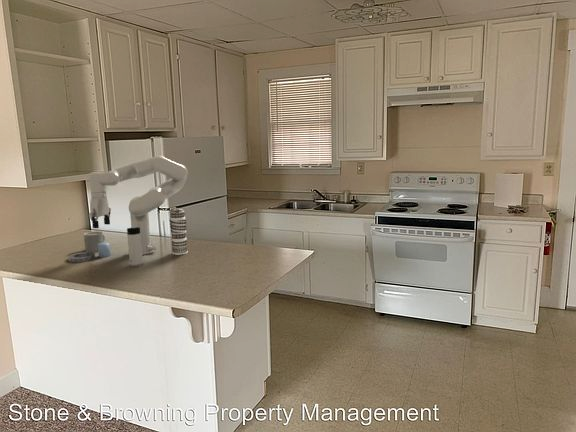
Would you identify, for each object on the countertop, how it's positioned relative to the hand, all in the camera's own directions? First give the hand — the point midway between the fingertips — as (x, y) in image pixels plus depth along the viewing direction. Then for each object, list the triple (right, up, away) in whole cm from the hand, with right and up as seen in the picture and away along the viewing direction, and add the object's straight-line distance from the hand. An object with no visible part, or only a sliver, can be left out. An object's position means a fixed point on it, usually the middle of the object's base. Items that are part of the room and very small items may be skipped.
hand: (101, 226), depth 236 cm
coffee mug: (-10, -14, +17) cm, 24 cm away
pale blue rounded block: (+1, -17, +3) cm, 17 cm away
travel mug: (+24, -20, -15) cm, 35 cm away
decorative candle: (+41, -15, +6) cm, 44 cm away
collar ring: (-10, -18, -2) cm, 20 cm away
